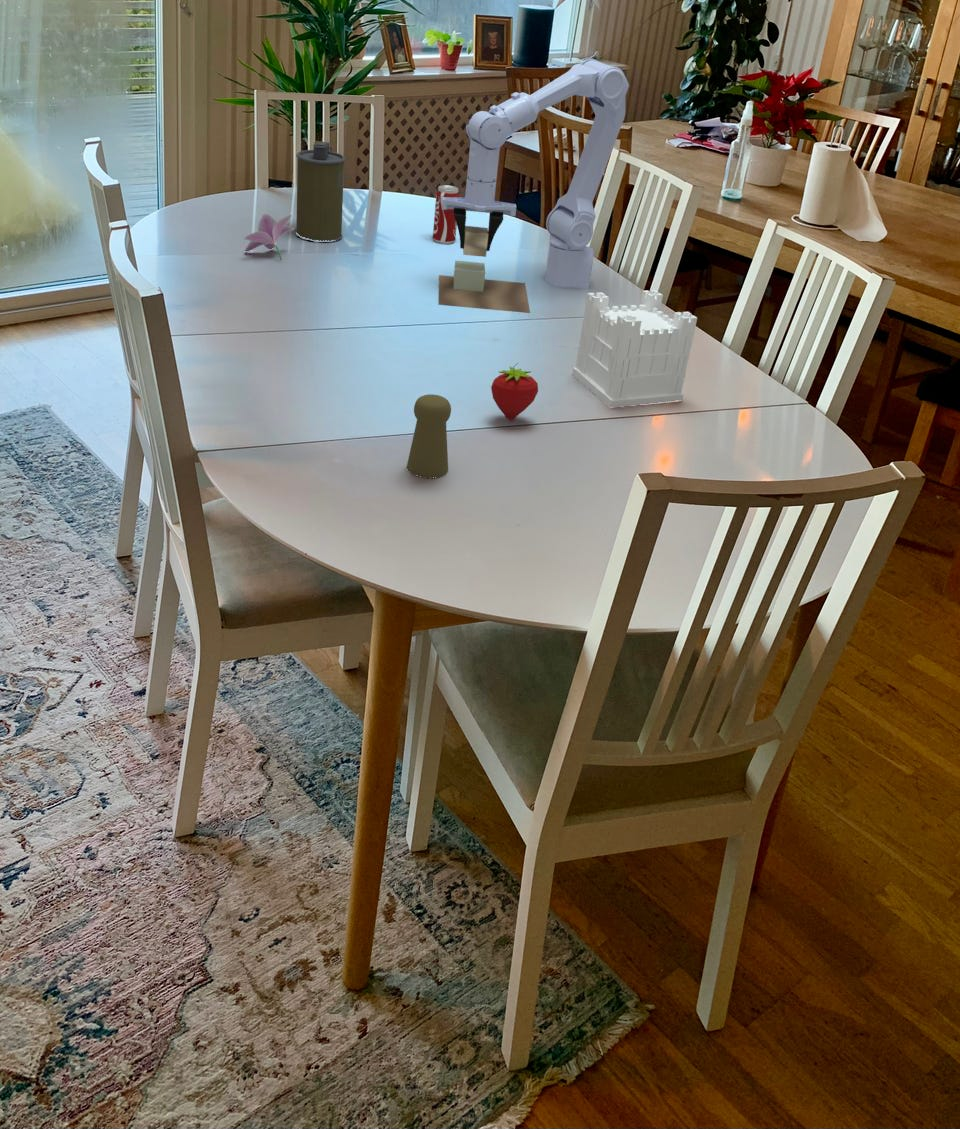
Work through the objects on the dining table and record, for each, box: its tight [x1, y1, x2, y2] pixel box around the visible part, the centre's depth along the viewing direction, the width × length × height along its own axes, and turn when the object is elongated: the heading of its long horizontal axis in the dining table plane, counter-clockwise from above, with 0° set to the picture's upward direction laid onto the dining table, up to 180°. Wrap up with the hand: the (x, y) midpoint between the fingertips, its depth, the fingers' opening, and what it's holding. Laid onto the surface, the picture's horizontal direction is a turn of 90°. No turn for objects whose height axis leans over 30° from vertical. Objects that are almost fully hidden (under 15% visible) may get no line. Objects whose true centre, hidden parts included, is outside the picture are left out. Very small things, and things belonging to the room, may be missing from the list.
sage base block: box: [453, 260, 486, 292], centre depth 228 cm, size 6×6×4 cm
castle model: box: [571, 289, 698, 408], centre depth 190 cm, size 14×14×15 cm
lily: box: [243, 213, 296, 261], centre depth 233 cm, size 12×12×10 cm
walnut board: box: [438, 274, 531, 314], centre depth 226 cm, size 18×18×1 cm
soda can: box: [432, 185, 460, 245], centre depth 254 cm, size 5×5×12 cm
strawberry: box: [490, 362, 539, 421], centre depth 176 cm, size 6×8×10 cm
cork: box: [406, 393, 452, 479], centre depth 158 cm, size 6×6×11 cm
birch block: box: [462, 225, 488, 258], centre depth 223 cm, size 4×4×4 cm
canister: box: [295, 140, 346, 241], centre depth 245 cm, size 11×10×20 cm
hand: (474, 248), depth 224 cm, fingers closed on birch block, 4 cm apart
